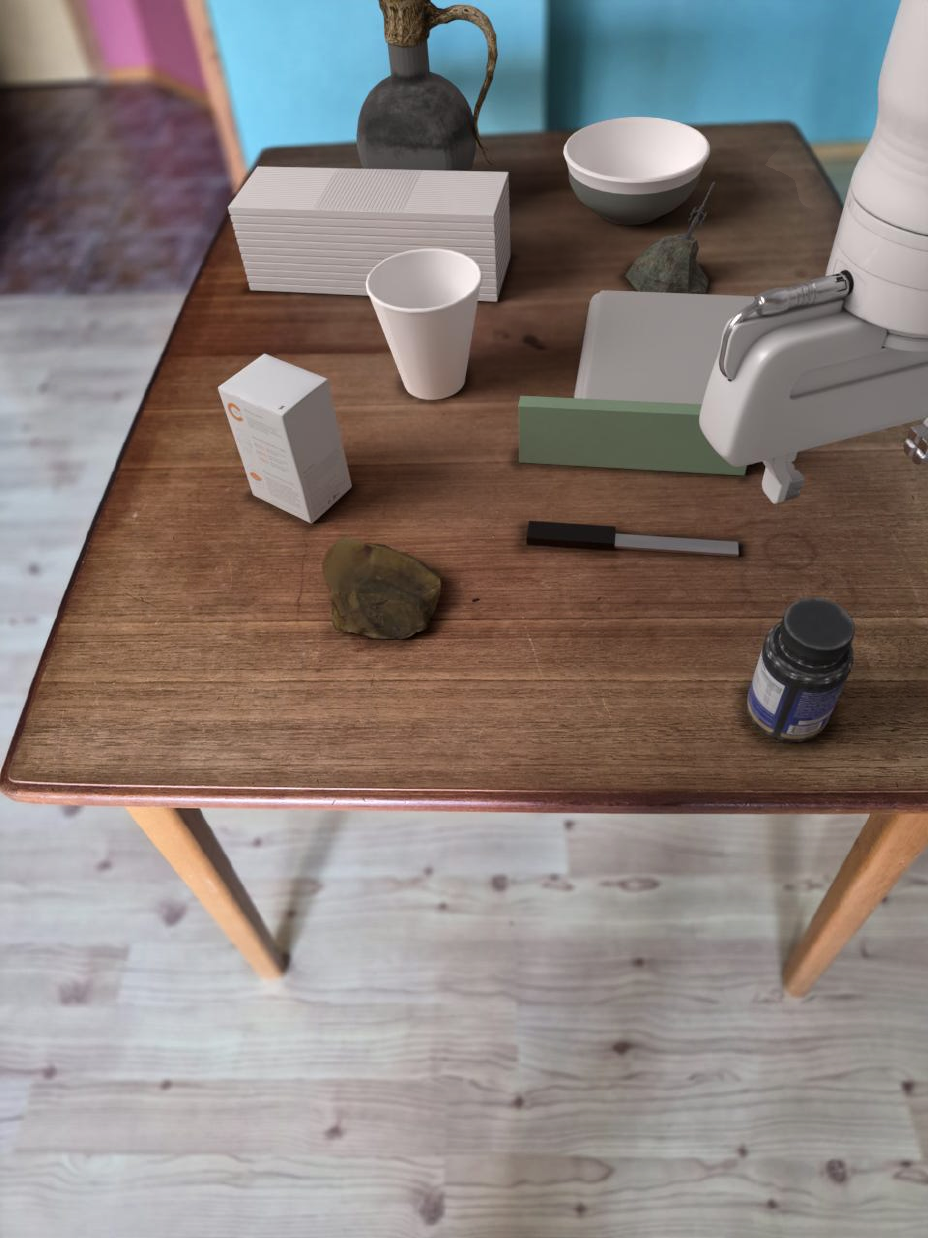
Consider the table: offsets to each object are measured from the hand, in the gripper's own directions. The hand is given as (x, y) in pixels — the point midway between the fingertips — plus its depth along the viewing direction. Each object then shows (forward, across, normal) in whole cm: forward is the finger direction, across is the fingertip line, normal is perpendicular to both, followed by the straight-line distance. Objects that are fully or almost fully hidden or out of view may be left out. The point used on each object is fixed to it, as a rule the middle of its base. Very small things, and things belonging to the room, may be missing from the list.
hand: (850, 475), depth 53 cm
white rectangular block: (+23, +9, +39) cm, 46 cm away
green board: (+22, 0, +29) cm, 37 cm away
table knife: (+22, -4, +19) cm, 30 cm away
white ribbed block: (+23, -14, +74) cm, 78 cm away
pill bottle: (+23, 0, -2) cm, 23 cm away
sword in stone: (+23, +18, +58) cm, 65 cm away
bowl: (+23, +22, +76) cm, 83 cm away
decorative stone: (+23, -27, +20) cm, 41 cm away
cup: (+23, -14, +49) cm, 56 cm away
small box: (+23, -31, +36) cm, 53 cm away
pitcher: (+23, -3, +87) cm, 90 cm away
